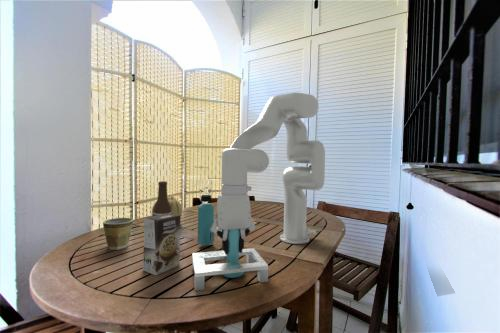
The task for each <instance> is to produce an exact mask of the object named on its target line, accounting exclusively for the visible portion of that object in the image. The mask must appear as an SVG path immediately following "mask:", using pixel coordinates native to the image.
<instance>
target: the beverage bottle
mask: <svg viewBox="0 0 500 333" xmlns="http://www.w3.org/2000/svg"><path fill="white" fill-rule="evenodd" d="M200 196H201V197H200V201H201V202H204V203H201V204H200V205H199V206H198V207H197V243H198V245H201V246H209V245H213V244H214V243H215V233H213V232H212V231H211V230H210V228H211V226H212V225H213V223H214V221H215V220H216V218H215V206H214V205H213V203H209V202H212V201H213V199H212V195H211V194H203V195H200ZM205 202H206V203H205ZM207 202H208V203H207Z"/></svg>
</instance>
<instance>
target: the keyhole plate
mask: <svg viewBox="0 0 500 333" xmlns="http://www.w3.org/2000/svg"><path fill="white" fill-rule="evenodd" d="M241 256H246V263H239V264H236V265H231V264H230V263H227V262H222V263H212V264H206V263H205V262H208V261H210V262H211V261H220V260H227V254H225V252H224V250H214V251H204V252H192V256H191V257H192V258H191V262H192V263H191V264H192V265H191V267H192V272H193V271H194V282H193V283H194V291H202V290H203V291H204V290H205V277H207V276H217V275H222V274H228V273H237V272H244V273H245V272H254V271H255V272H256V271H257V272H256V276H257V277H256V279H257V281H258V282H259V283H268V282H269V265H268V264H267V262H266V261H265V260H264V258H263V257H262V256H261V255H260V253H259V252H258V251H257V250H256V249H255V248H254V247H253V248H251V247H250V248H244V249H242V253H240V252H239V257H241Z"/></svg>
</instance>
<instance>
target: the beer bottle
mask: <svg viewBox="0 0 500 333" xmlns="http://www.w3.org/2000/svg"><path fill="white" fill-rule="evenodd" d="M157 184H158V190H157V199H156V201H157V202H156V201H155V202H156V203H155V202H154V203H155V205H154V204H153V205H154V207H153V206H152V207H153V216H156V215H161V214H166V213H169V214H172V207H171V204H170V203H169V201H168V198H167V197H168V187H167V185H168V181H166V180H165V181H159V182H158V183H157Z"/></svg>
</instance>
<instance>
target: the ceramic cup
mask: <svg viewBox="0 0 500 333" xmlns="http://www.w3.org/2000/svg"><path fill="white" fill-rule="evenodd" d="M133 222H134V219H133V218H129V217H116V218H115V217H114V218H110V219H106V220H103V222H102V226H103V231H104V236H105V241H106V245H107V248H108V249H109V250H111V251H112V250H113V251H116V250H117V251H118V250H122V249H125V248H127V247H128V246H129V244H130V237H131V231H132V228H133V224H134V223H133Z"/></svg>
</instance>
